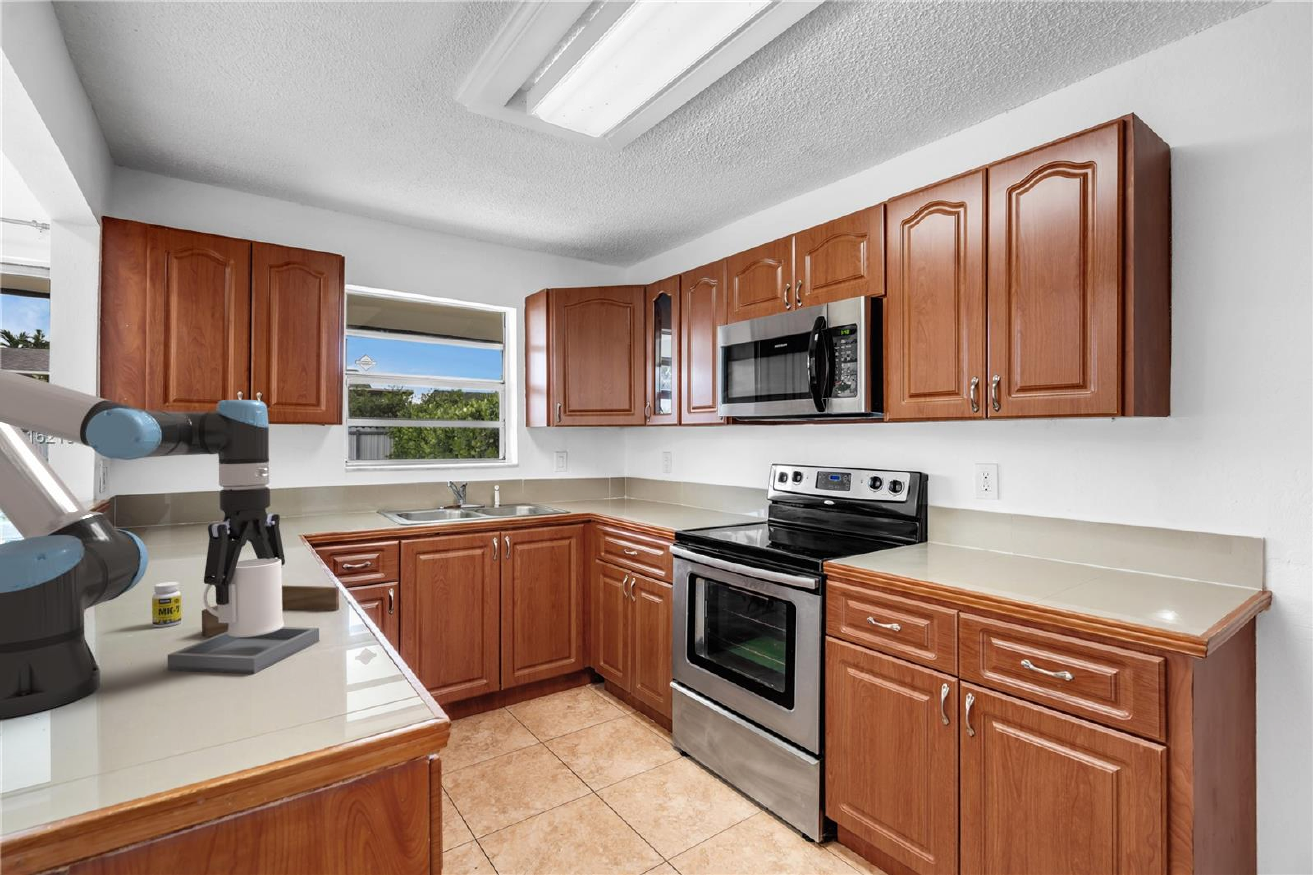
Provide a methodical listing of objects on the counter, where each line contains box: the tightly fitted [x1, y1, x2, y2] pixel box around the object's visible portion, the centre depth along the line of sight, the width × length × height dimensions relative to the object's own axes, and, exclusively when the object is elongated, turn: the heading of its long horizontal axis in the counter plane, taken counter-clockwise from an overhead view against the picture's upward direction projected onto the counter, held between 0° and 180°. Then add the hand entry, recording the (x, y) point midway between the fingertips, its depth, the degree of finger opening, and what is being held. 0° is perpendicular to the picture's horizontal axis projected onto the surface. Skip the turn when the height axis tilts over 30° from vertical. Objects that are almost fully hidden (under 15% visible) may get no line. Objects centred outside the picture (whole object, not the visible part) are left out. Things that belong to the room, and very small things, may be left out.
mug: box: [203, 558, 285, 637], centre depth 112 cm, size 12×8×12 cm
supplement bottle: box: [151, 581, 182, 628], centre depth 131 cm, size 5×5×8 cm
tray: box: [167, 626, 320, 675], centre depth 113 cm, size 16×16×2 cm
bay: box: [201, 584, 340, 637], centre depth 132 cm, size 20×15×5 cm
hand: (248, 614), depth 113 cm, fingers closed on mug, 8 cm apart
